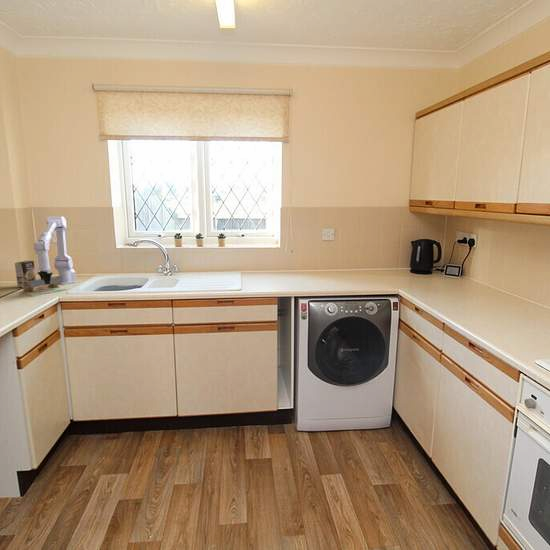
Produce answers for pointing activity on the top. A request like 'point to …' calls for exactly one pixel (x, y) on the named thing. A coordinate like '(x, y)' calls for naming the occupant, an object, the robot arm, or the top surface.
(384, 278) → the top surface
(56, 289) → the mat
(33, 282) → the rail
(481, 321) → the top surface
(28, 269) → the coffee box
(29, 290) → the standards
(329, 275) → the top surface
